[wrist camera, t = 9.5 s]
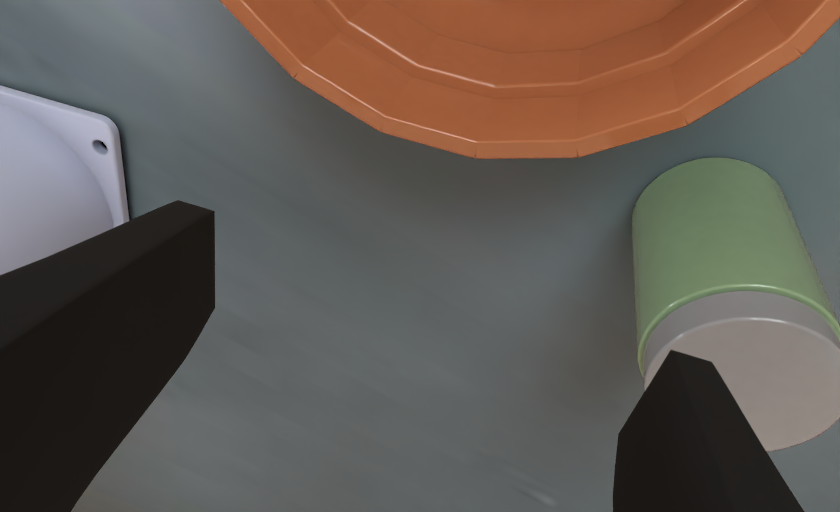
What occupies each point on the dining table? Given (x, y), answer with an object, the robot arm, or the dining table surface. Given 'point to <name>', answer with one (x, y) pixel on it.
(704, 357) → the cylinder
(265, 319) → the dining table surface
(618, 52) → the basin
